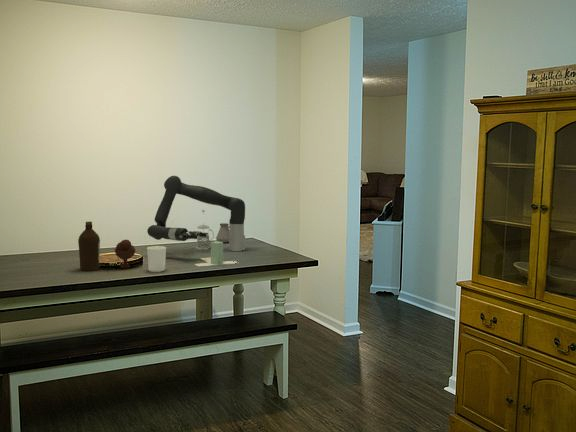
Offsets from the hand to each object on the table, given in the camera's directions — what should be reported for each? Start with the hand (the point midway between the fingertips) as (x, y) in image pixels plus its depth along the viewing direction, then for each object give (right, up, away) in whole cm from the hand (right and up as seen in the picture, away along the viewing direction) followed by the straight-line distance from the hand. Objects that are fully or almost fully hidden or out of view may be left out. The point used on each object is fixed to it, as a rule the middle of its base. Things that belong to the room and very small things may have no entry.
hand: (201, 236), depth 319 cm
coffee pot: (+7, -8, +68) cm, 69 cm away
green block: (+9, -15, -3) cm, 18 cm away
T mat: (+6, -15, +3) cm, 16 cm away
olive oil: (-55, -17, -24) cm, 62 cm away
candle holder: (-20, -17, -23) cm, 35 cm away
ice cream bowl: (-38, -16, -16) cm, 45 cm away
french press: (-5, -10, +47) cm, 48 cm away
